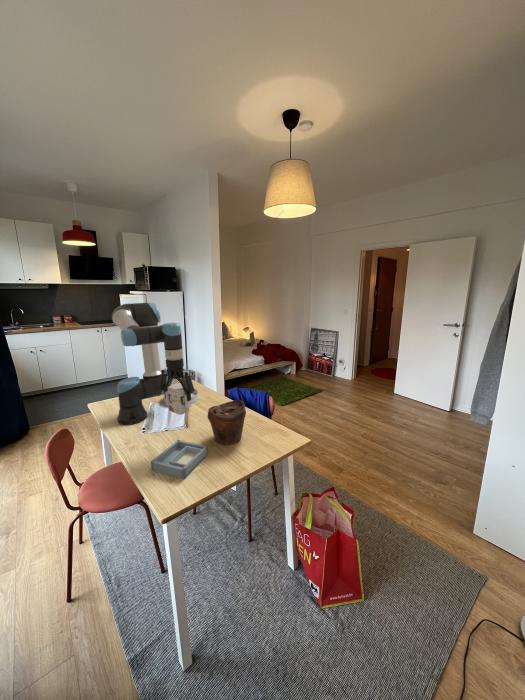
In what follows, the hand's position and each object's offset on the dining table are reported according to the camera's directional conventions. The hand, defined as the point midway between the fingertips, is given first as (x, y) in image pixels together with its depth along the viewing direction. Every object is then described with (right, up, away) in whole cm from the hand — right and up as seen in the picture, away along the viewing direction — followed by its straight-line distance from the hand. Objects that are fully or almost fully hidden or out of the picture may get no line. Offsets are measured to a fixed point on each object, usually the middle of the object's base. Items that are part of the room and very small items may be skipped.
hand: (178, 405), depth 131 cm
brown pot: (+21, -18, +11) cm, 30 cm away
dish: (-15, -8, +59) cm, 61 cm away
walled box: (+3, -23, -8) cm, 24 cm away
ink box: (0, -3, +1) cm, 3 cm away
